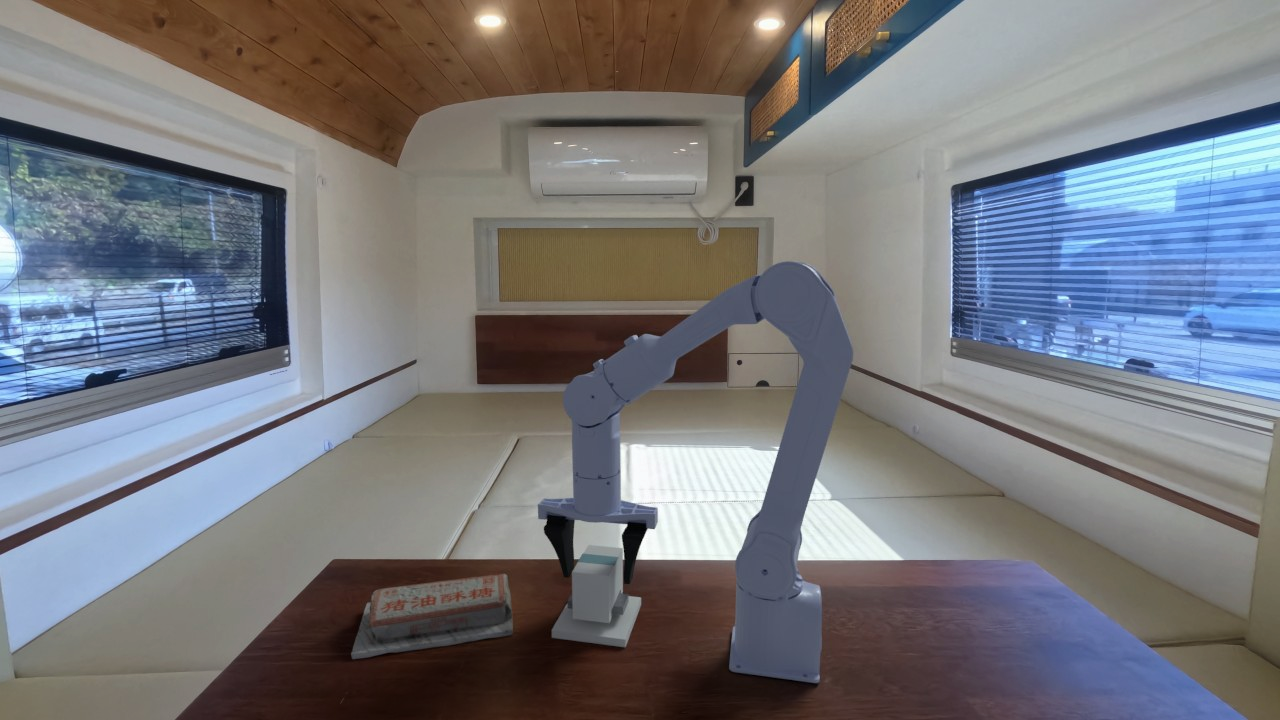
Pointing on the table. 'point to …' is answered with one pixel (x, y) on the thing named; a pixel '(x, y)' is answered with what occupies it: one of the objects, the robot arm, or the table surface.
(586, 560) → the block
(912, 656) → the table surface
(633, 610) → the base
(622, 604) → the dark grey flat block
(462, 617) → the packaged product
